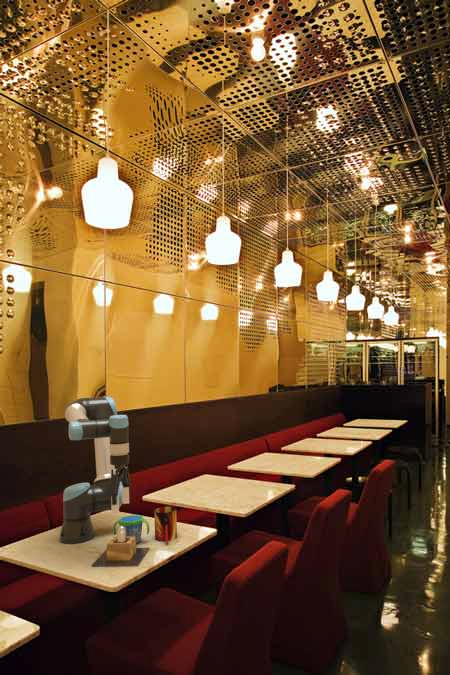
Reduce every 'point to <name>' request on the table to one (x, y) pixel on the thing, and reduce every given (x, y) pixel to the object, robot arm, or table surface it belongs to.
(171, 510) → the mug
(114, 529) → the snack cup
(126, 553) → the square wooden frame
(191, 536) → the table surface
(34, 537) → the table surface
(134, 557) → the post stand
